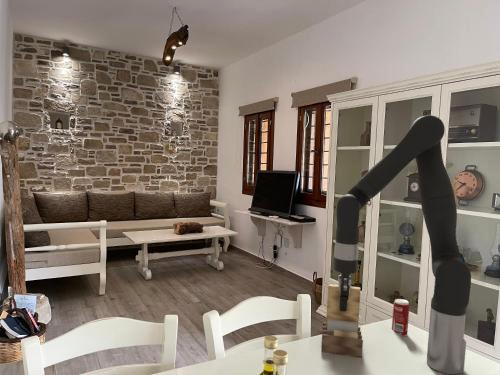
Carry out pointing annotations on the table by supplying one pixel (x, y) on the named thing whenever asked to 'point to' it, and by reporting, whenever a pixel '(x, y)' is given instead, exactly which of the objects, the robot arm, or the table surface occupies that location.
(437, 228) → the robot arm
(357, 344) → the rack
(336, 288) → the tall sheet
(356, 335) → the offcut pine
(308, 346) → the table surface
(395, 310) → the soda can
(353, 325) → the offcut grey
